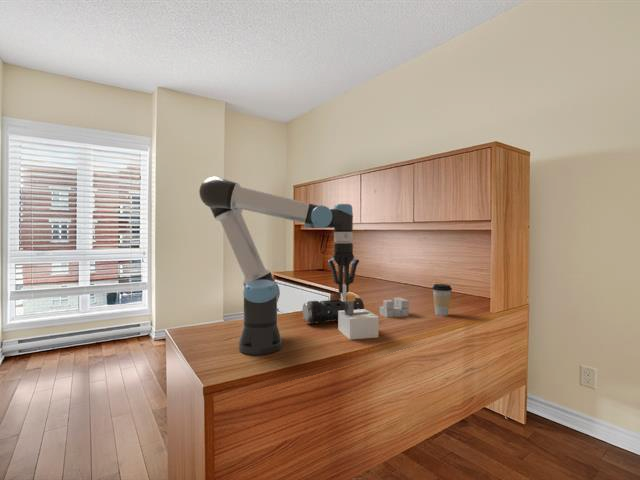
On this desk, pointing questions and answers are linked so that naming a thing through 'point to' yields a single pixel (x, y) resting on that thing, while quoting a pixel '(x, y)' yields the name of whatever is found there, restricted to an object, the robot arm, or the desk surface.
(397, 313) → the puzzle cube
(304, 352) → the desk surface
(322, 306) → the muzzle brake
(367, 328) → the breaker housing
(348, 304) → the breaker toggle
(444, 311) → the coffee cup
